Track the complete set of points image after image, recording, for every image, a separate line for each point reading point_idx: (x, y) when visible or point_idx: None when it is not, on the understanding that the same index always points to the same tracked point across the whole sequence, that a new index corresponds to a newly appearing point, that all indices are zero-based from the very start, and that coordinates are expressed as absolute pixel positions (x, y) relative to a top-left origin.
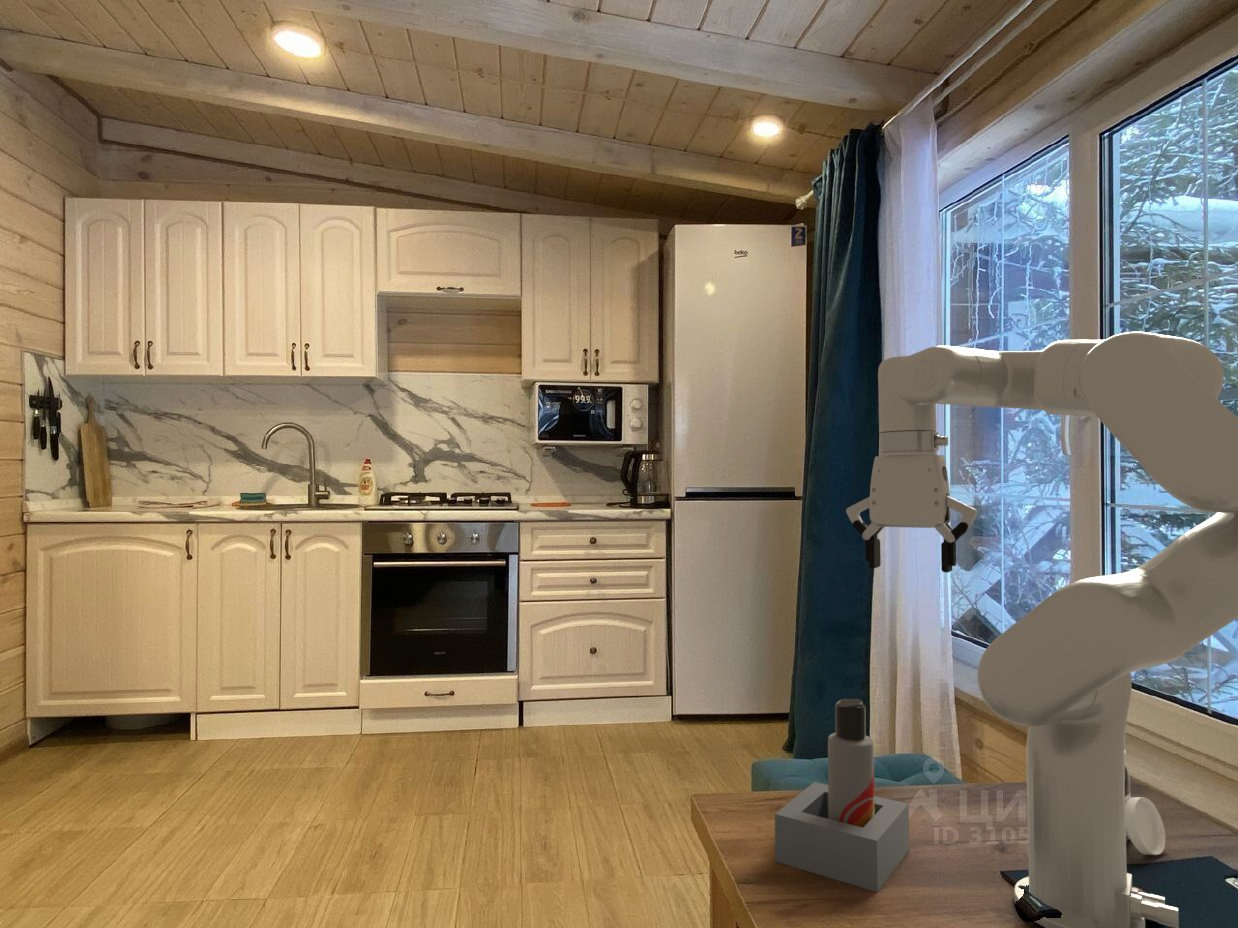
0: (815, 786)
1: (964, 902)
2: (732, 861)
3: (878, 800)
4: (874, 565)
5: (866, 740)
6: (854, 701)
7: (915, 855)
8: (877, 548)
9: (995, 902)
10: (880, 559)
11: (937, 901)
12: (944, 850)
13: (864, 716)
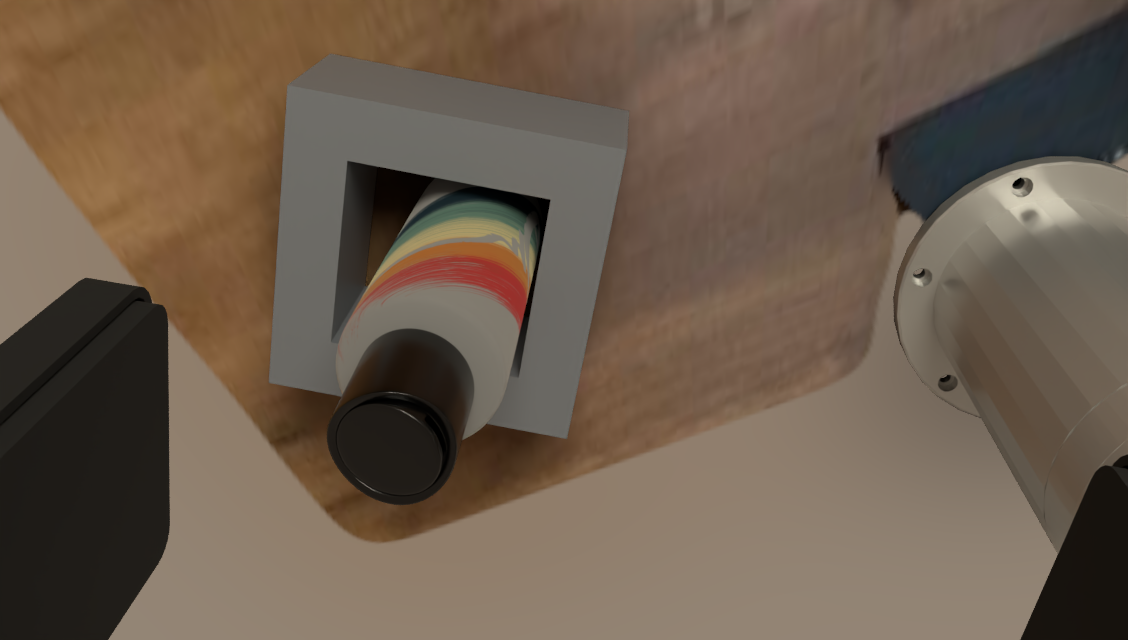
0: (305, 125)
1: (773, 341)
2: (214, 361)
3: (529, 161)
4: (157, 564)
5: (482, 392)
6: (404, 444)
7: (648, 138)
8: (33, 594)
9: (846, 314)
10: (123, 340)
11: (711, 360)
12: (729, 68)
13: (461, 440)
